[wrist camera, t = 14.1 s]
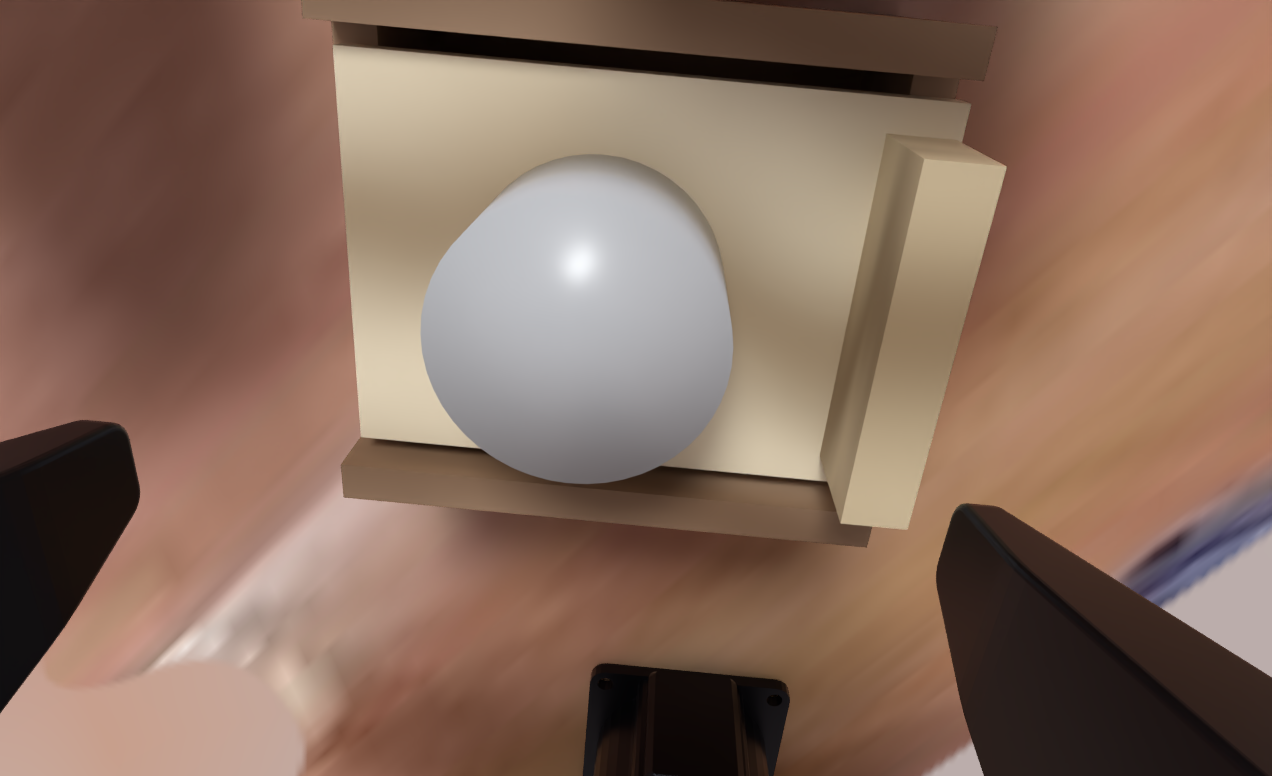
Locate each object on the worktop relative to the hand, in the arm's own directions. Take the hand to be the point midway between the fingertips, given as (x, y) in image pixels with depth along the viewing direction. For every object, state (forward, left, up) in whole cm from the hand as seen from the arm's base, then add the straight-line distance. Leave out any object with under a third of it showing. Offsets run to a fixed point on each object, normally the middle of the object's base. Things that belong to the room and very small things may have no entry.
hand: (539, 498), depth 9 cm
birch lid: (0, -1, -8) cm, 8 cm away
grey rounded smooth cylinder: (0, 0, -7) cm, 7 cm away
